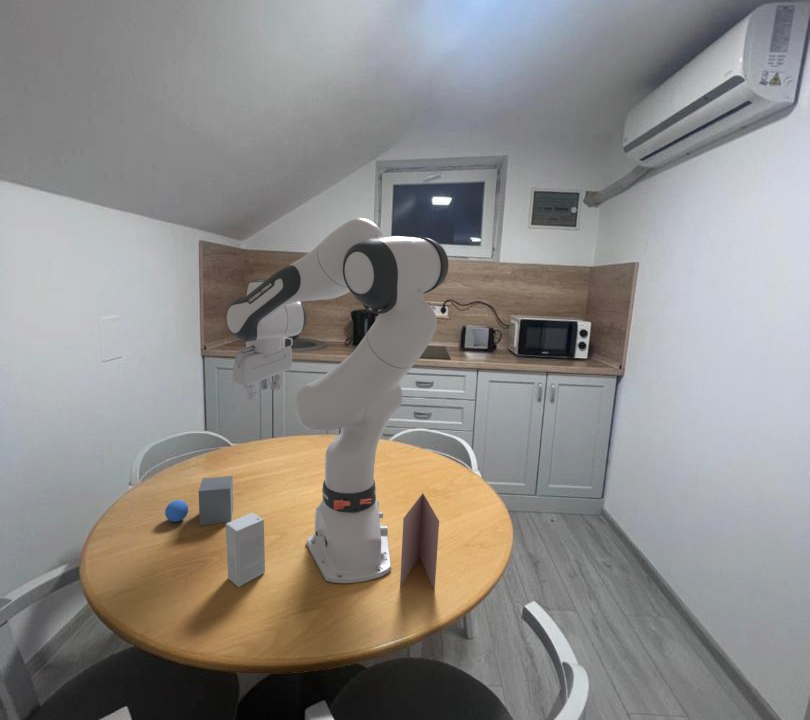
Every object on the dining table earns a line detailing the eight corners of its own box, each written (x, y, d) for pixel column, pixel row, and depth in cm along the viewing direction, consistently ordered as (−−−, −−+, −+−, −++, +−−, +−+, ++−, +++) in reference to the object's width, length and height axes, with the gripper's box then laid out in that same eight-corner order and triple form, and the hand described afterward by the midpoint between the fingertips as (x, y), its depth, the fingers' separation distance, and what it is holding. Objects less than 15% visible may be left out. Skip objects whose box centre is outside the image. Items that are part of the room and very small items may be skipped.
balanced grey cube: (231, 521, 106) (230, 488, 104) (199, 525, 104) (198, 491, 102) (233, 507, 112) (232, 476, 111) (203, 510, 110) (202, 478, 109)
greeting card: (415, 554, 96) (419, 492, 94) (447, 563, 94) (452, 499, 91) (395, 586, 86) (399, 517, 83) (431, 597, 83) (436, 526, 81)
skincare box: (253, 564, 91) (253, 511, 88) (265, 573, 88) (265, 519, 86) (226, 578, 86) (224, 523, 84) (237, 588, 83) (236, 531, 81)
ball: (186, 524, 104) (185, 505, 103) (163, 527, 102) (162, 507, 101) (190, 514, 108) (189, 495, 108) (168, 516, 107) (167, 497, 106)
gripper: (247, 351, 101) (247, 407, 105) (296, 338, 120) (295, 385, 124) (225, 348, 103) (226, 402, 107) (277, 335, 122) (276, 382, 125)
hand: (263, 393), depth 115 cm, fingers open, 8 cm apart
